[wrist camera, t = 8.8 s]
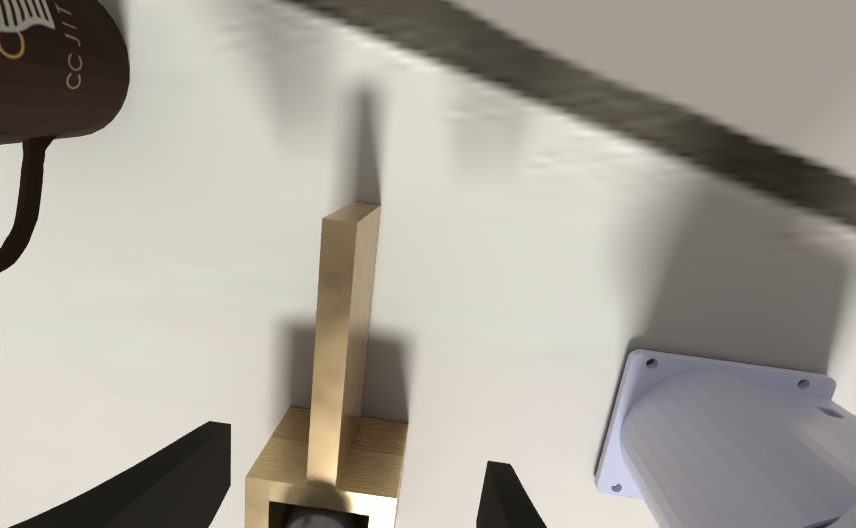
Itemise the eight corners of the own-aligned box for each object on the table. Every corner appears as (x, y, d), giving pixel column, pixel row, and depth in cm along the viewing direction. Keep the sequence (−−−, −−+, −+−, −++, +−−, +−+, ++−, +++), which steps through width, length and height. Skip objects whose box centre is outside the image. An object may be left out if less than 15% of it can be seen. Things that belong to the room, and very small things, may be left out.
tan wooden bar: (435, 212, 19) (430, 232, 14) (377, 662, 27) (360, 776, 22) (299, 194, 19) (249, 208, 15) (279, 647, 27) (240, 757, 22)
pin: (372, 486, 23) (339, 624, 17) (317, 481, 23) (263, 616, 17) (374, 439, 22) (340, 563, 16) (317, 434, 23) (260, 555, 16)
